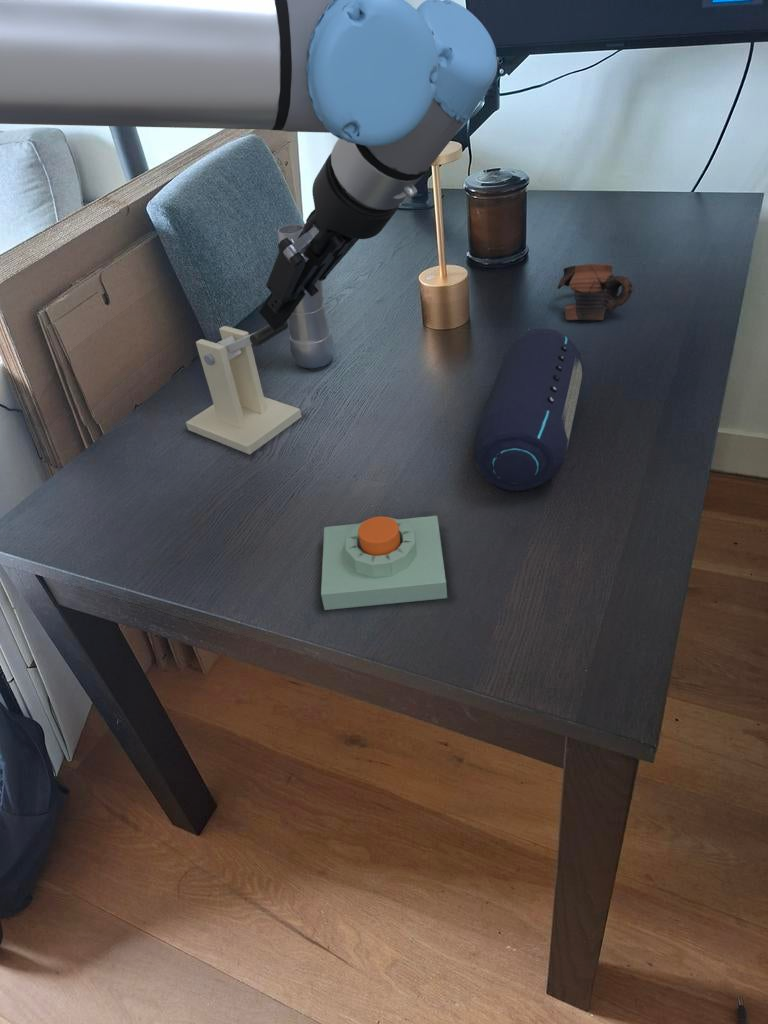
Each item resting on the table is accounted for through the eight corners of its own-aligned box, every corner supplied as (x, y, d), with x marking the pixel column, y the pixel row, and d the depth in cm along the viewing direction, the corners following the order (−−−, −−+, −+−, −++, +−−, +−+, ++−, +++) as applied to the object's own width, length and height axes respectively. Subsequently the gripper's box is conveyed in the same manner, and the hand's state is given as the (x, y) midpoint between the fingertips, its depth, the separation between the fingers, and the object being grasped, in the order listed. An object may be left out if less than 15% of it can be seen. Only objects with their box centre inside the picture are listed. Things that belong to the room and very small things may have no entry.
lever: (292, 330, 89) (282, 312, 88) (262, 349, 86) (252, 329, 86) (238, 352, 98) (229, 335, 97) (210, 369, 95) (200, 352, 95)
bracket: (302, 417, 102) (284, 329, 94) (249, 455, 96) (225, 365, 88) (240, 395, 108) (218, 312, 100) (188, 430, 103) (160, 344, 95)
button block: (324, 610, 74) (317, 581, 71) (327, 542, 82) (321, 513, 79) (447, 598, 73) (445, 568, 71) (438, 531, 81) (436, 502, 79)
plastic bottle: (312, 349, 117) (287, 218, 105) (346, 358, 114) (325, 223, 101) (284, 367, 113) (255, 234, 101) (319, 377, 110) (293, 240, 97)
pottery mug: (545, 322, 117) (546, 267, 115) (574, 326, 124) (575, 273, 122) (620, 316, 109) (622, 257, 107) (646, 320, 116) (648, 264, 114)
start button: (360, 558, 74) (358, 544, 73) (360, 531, 77) (357, 518, 76) (401, 554, 74) (399, 540, 72) (399, 527, 77) (397, 514, 76)
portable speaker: (560, 509, 82) (564, 431, 75) (469, 499, 85) (465, 424, 78) (584, 389, 100) (589, 318, 93) (508, 385, 103) (508, 316, 96)
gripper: (347, 237, 64) (252, 370, 83) (435, 189, 71) (329, 321, 90) (289, 166, 63) (207, 316, 82) (384, 124, 71) (288, 271, 90)
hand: (271, 318), depth 86 cm, fingers closed
